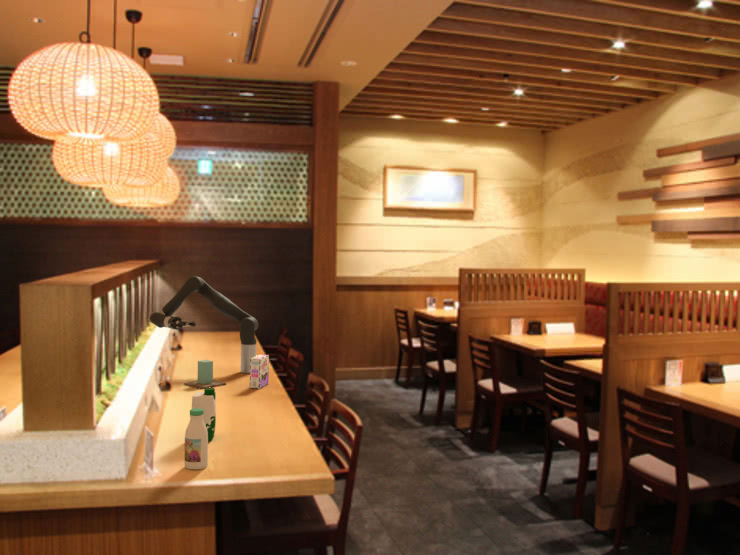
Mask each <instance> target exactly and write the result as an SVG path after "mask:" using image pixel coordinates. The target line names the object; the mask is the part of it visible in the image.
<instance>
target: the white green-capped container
mask: <svg viewBox="0 0 740 555" xmlns="http://www.w3.org/2000/svg"><path fill="white" fill-rule="evenodd" d="M215 388H216V387H211V388H205V389H203V390H204V391H196V392H195V393H193V395H192V398H191V409H195V408H200V409H203V410H204V414H203V415H204V416H203V421H204V423H205V426H206V428H207V432H208V441H211V442H212V441H213V439H214V437H215V434H216V433H215V431H216V424H217V422H216V421H217V418H216V416H217V415H216V412H217V411H216V410H217V409H216V408H217V405H216V404H217V403H216V402H217V399H216V398H217V393H216V391H215V390H216V389H215Z"/></svg>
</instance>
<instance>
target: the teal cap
mask: <svg viewBox="0 0 740 555" xmlns="http://www.w3.org/2000/svg"><path fill="white" fill-rule="evenodd" d="M213 378H214V361H213V360H210V359H203V360H197V380H198V383H200V384H209V383H213V380H214V379H213Z"/></svg>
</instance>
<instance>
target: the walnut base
mask: <svg viewBox="0 0 740 555" xmlns="http://www.w3.org/2000/svg"><path fill="white" fill-rule="evenodd" d="M183 384H185V385H184V386H188V385H189V387H191V386H192V388H195V387H196V388H195V389H198V388H200V389H199V390H204V389H203V388H209V387H211V388H216V387H215V386H217V387H221V385H222V386H226V385H227V382H224V381H220V380H217V379H216V380H215V379H213V383H209V384H200V383H198V379H197V380H193V381H187V382H186V381H185V382H184V383H183Z"/></svg>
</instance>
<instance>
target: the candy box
mask: <svg viewBox="0 0 740 555" xmlns="http://www.w3.org/2000/svg"><path fill="white" fill-rule="evenodd" d="M269 363H270V356H269V354H258V355H256V357H253V358H250V373H249V389H254V390H257V389H259V390H260V389H262V388H264V387H265V385H266V386H267V385H269V369H270V368H269V366H270V364H269Z"/></svg>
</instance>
